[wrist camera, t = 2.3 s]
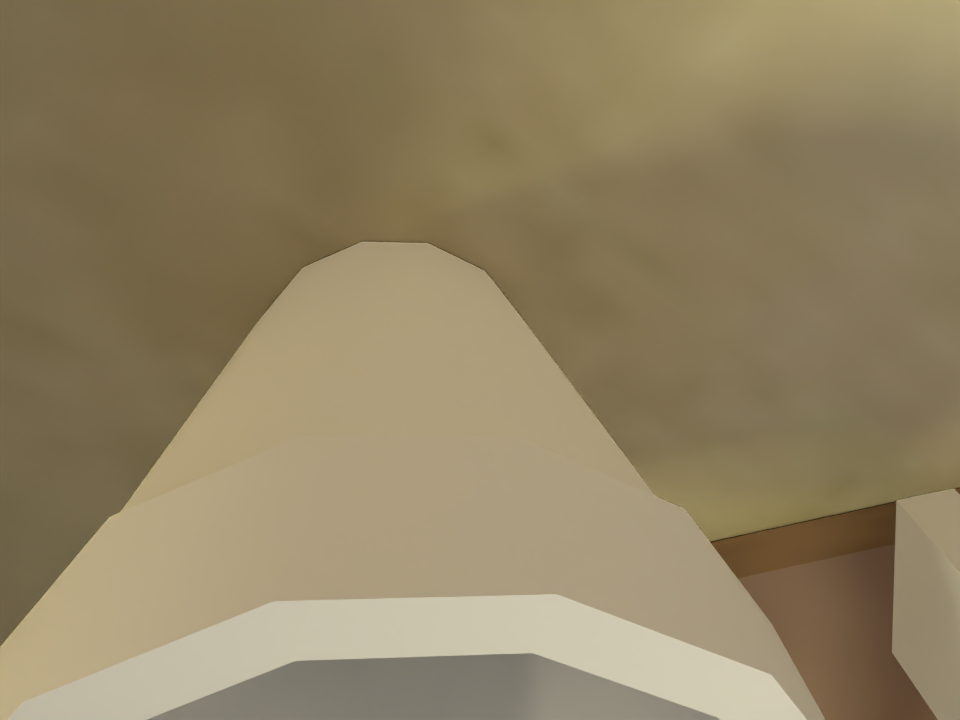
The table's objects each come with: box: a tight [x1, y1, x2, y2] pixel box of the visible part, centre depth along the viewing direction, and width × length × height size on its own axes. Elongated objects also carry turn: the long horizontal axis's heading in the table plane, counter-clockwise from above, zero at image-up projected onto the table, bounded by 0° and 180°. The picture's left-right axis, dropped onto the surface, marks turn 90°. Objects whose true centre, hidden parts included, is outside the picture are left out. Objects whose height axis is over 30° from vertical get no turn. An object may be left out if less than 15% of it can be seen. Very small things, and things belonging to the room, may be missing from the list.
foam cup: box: [0, 242, 825, 720], centre depth 14 cm, size 10×9×13 cm
